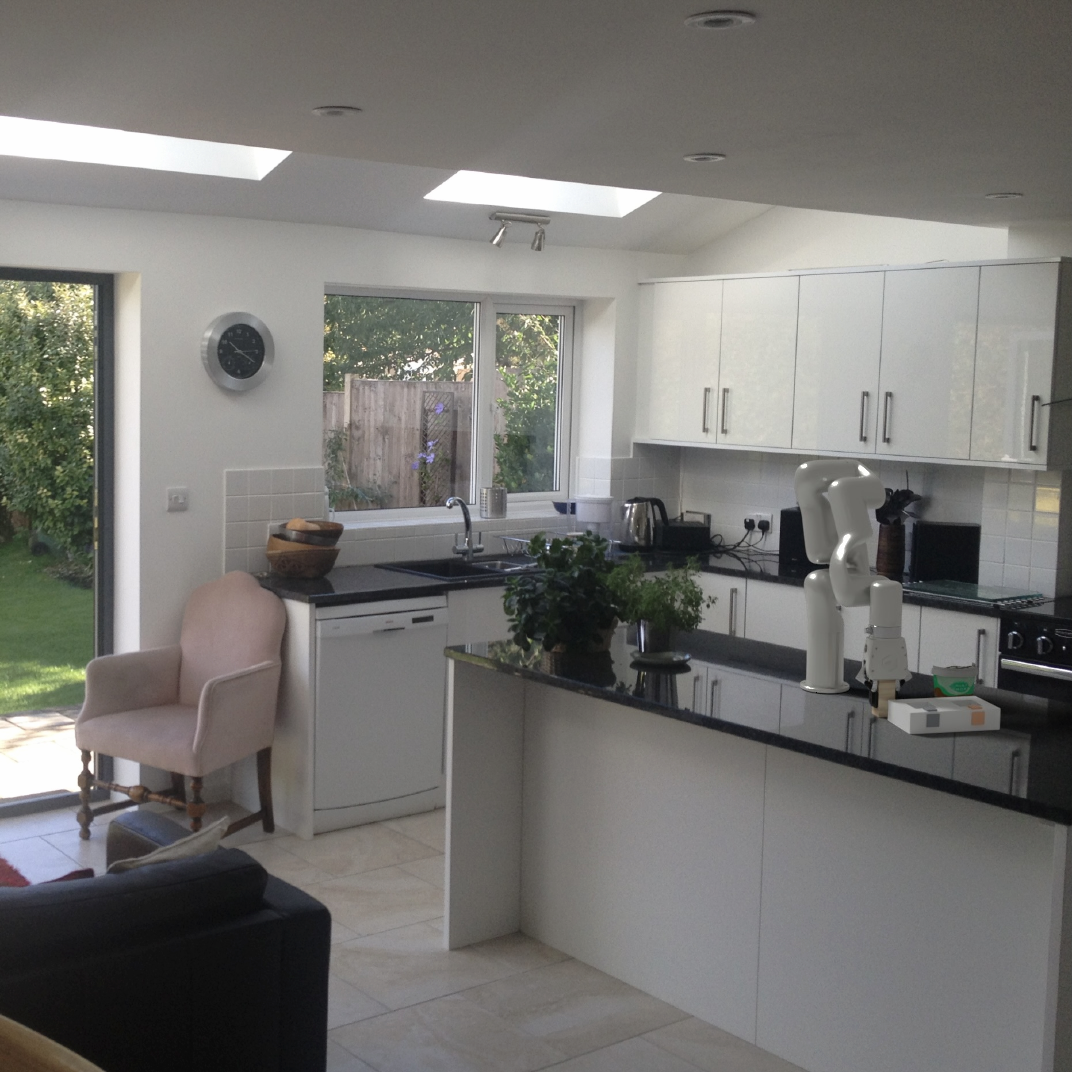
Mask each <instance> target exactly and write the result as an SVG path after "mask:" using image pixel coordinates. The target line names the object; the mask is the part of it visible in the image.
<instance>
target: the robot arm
mask: <svg viewBox="0 0 1072 1072" xmlns="http://www.w3.org/2000/svg"><path fill="white" fill-rule="evenodd" d="M793 488H794V489H793V491H794V493H795V498H796V501H797V503H798V506H799V509H800V512H801V518H802V519H801V520H802V529H803V538H804V546H805V553H806V556H807V559H808V561H809V562H811V563H813V564H815V565H816V564H817V565H826V564H827V565H829V568H822V569H816V570H813V571H811V572H810V573H808V574H807V576H806V577H805V578H804V582H803V591H804V597H805V602H806V603H805V604H806V623H807V624H806V667H805V668H806V670H805V671H806V675H805V676H806V677H805V679H804V680H801V681H800V683H799V687H800V689H802V690H803V691H807V692H811V693H816V692H817V693H818V694H837V693H838V694H840V693H844V692H847V691H849V689H850V684H849V683H848V682H847V681H844V664H845V663H844V661H845V659H844V658H845V657H844V656H845V654H844V653H845V621H844V618H843V616H842V614H841V613H840V611H839V610H838V608H837V606H842V607H845V608H859V607H861V608H862V607H869V617H868V618H869V619H868V621H869V623H868V624H867V625H868V627H864V628H863V633H864V634H867V635H868V636H866V639H865V642H864V645H863V646H864V647H863V652H862V662H861V663H862V664H861V668H860V670H859V671H858V673H857V674H856V676H855V680H857V681H858V682H860V683H862V684H863V686H865V687H866V688H867V690H868V702H869V704H870V707H871V708H872V707H874V708H878V692H877V685H878V680H896V683H895V700H899V692H900V690H901V688H902V687H903V686H904V685H905V684H906V682H908V681H910V680H911V679H913V675H912V673H911V670H909V663H908V662H909V659H908V650H907V644H906V638H905V637H902V632H903V631H902V629H903V627H902V626H903V625H902V624H903V622H902V620H903V619H902V618H903V592H904V591H903V585H902V583H901V582H899V581H896V580H891V579H889V578H888V577H886V576H884V575H879V574H877V575H874V574H873V575H871V571H870V570H871V569H870V561H869V554H868V553H869V552H868V544H867V542H869V540H871V538H872V537H873V534H874V531H873V530H874V529H873V527H872V523H871V519H870V516H869V515H870V514H869V511H868V510H878V509H880V508H882V507H883V506H884V504H885V502H886V497H887V495H886V488H885V486H884V483H883V482H882V480H881V479H880V478H879V476H878V475H877V474H876V473H875V472H874V471H872V469H870V468H868V467H867V466H866V465H865V464H864V463H862V462H861V461H859V460H857V459H851V458H850V459H848V458H847V459H845V458H844V459H817V460H816V459H813V460H809V461H805V462H803V463H802V464H800V465H799V466H798V467H797V468H796V471H795V472H794V477H793ZM824 493H827V496H828V498H827V497H826V496H825V495H824ZM865 677H867V678H868V679H866V678H865Z"/></svg>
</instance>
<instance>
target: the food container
mask: <svg viewBox="0 0 1072 1072" xmlns="http://www.w3.org/2000/svg"><path fill="white" fill-rule="evenodd" d="M930 674H931V675H932V677H933V691H934V692H933V693H934V698H942V697H964V696H974V689H975V681H976V676H978V675H979V669H978V666H977V664H976V663H975V662H971V665H966V666H965V665H964V666H960V665H951V666H946V667H941V666H937V665H934V664H933V665H932V668H931V671H930Z"/></svg>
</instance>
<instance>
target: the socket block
mask: <svg viewBox="0 0 1072 1072" xmlns="http://www.w3.org/2000/svg"><path fill="white" fill-rule="evenodd" d="M887 721H888V722H890V723H891V724H893V725H894V726H896V727H897V728H899V729H901V730H902V731H904V732H905V733H906V734H908V735H920V734H922V735H923V734H939V733H941V734H942V733H957V732H958V733H959V732H961V733H962V732H979V731H998V730H999V731H1000V728H1001V708H1000V707H998V706H996V705H994V704H993V703H990V702H988V701H986V700H984V699H983V698H980V697H978V696H976V695H973V696H964V697H942V698H935V697H927V698H926V697H925V698H904V699H903V698H901V699H899V698H898V700H888V717H887Z"/></svg>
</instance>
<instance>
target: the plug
mask: <svg viewBox="0 0 1072 1072" xmlns="http://www.w3.org/2000/svg"><path fill="white" fill-rule="evenodd" d="M895 683H896V680H878V685H877V692H878V708H874V707H872V706H871V714H872V715H874V717H877V718H888V700H895Z"/></svg>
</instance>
